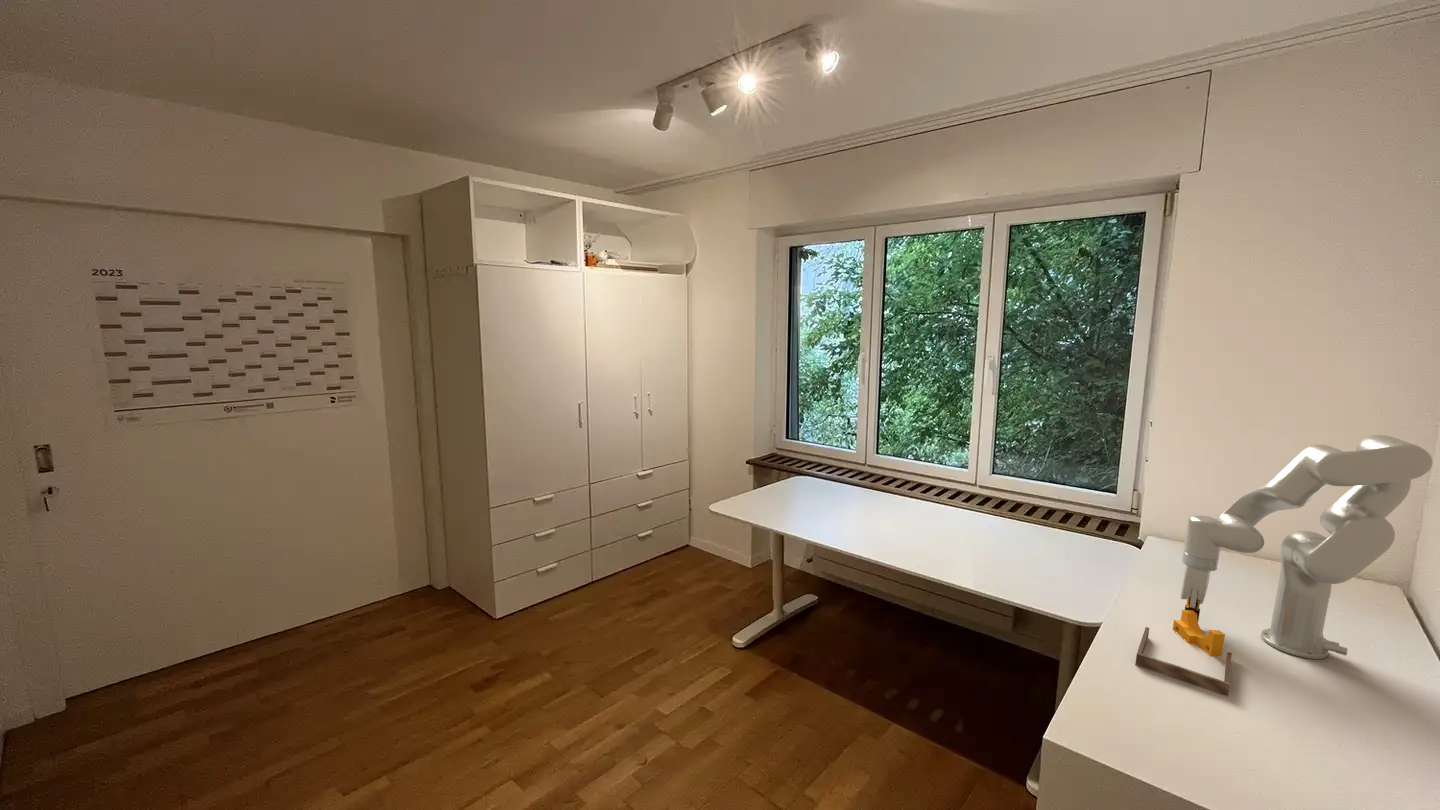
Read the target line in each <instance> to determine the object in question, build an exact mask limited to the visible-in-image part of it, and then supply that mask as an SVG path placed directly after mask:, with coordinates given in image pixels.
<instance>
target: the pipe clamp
mask: <svg viewBox="0 0 1440 810" xmlns="http://www.w3.org/2000/svg"><path fill="white" fill-rule="evenodd" d="M1180 616H1181V617H1180V620H1177V619H1174V620H1173V625H1172V631H1173V630H1174V631H1175V632H1174V631H1173V632H1174V633H1176V632H1177V633H1178V634H1179V635H1180V636H1181V638H1182V639H1183V640H1184V639H1185V640H1186V641H1185V640H1184V641H1185V642H1186V643H1188V644H1194V645H1196V646H1197V647H1199V648H1201V650H1203V651H1204V652H1205V653H1207V655H1208V656H1210V657H1219V658H1222V656H1223V650H1224V649H1223V648H1224V642H1225V639H1226V638H1225V637H1226V634H1225V633H1223V632H1222V631H1221V630H1220V629H1219V630H1218V629H1208V631H1207V634H1205V633H1204V632H1203V631H1202V629H1201V628H1200V625H1199V620H1197V613H1195V612H1194V611H1193V610H1185V609H1182V610H1181V615H1180ZM1177 633H1176V634H1177ZM1178 634H1177V635H1178ZM1179 635H1178V636H1179ZM1180 636H1179V637H1180Z"/></svg>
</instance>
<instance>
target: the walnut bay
mask: <svg viewBox="0 0 1440 810" xmlns="http://www.w3.org/2000/svg"><path fill="white" fill-rule="evenodd" d="M1149 634H1150V627H1149V626H1148V627H1147V626H1145V627H1144V631H1143V634H1142V637H1141V640H1140V643H1139V646H1138V648H1137V653H1136V657H1135V663H1134V664H1135V665H1136V666H1138V667H1141V668H1145V669H1146V670H1150V671H1153V672H1155V673H1159V674H1161V675H1164V676H1167V677H1170V678H1173V679H1175V680H1179V681H1181V682H1184V683H1188V684H1191V685H1194V686H1195V687H1196V686H1197V687H1199V688H1202V689H1204V690H1208V691H1210V692H1213V693H1216V694H1219V695H1223V696H1225V697H1228V696H1229V693H1230V687H1231V686H1230V685H1231V672H1232V669H1231V668H1232V655H1233V653H1232V652H1229V651H1227V654H1226V659H1225V668H1224V679H1223V680H1222V679H1218V678H1215V677H1212V676H1210V675H1206V674H1203V673H1200V672H1197V671H1196V670H1195V671H1194V670H1192V669H1189V668H1185V667H1183V666H1179V665H1176V664H1173V663H1170V662H1168V661H1164V660H1161V659H1157V658H1156V657H1152V656H1150V655H1146V654H1144V651H1145V648H1146V645H1147V643H1148V639H1149Z"/></svg>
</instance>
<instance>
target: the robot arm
mask: <svg viewBox="0 0 1440 810" xmlns="http://www.w3.org/2000/svg"><path fill="white" fill-rule="evenodd" d="M1432 467H1433V459H1432V455H1431V454H1430V452H1428V451H1427V450H1426V449H1425V448H1422V447H1421V446H1419V445H1417V444H1414V443H1411V442H1408V441H1405V440H1403V439H1399V438H1397V437H1393V436H1391V435H1385V434H1374V435H1373V434H1371V435H1369V436H1366V437H1364V438H1362V439H1361V440H1360V441H1359V442H1358V444H1357V445H1356V449H1355V450H1351V451H1343V450H1340V449H1338V448H1335V447H1333V446H1330V445H1325V444H1313V445H1309V446H1307V447H1305V448H1303V450H1301V451H1300V452H1299V453H1298V454H1297V455H1295V456H1294V457H1293V459H1291V460H1290V461H1289V462H1288V463H1287V464H1286V465H1285V466H1284V467H1283V468H1282V469H1280V470H1279V472H1278V473H1276V474H1275V475H1274V476H1273V477H1272V478H1271V479H1270V480H1269V481H1267V482H1266V483H1265V484H1264V485H1262V486H1261V487H1258V488H1256V489H1254V490H1252V491H1250V492H1248V493H1247V494H1245V495H1242V496H1241V497H1239V498H1238V499H1236V500H1235V501H1234V502H1232V503H1231V504H1230V505H1229V506H1228V507H1227V508H1226V509H1225V510H1224V511H1223V512H1222V513H1221V514H1220V515H1219V517H1217V518H1214V517H1212V516H1207V515H1202V514H1201V515H1198V514H1197V515H1192V516H1190V517H1189V518H1188V519H1187V524H1186V525H1187V526H1186V533H1185V540H1184V546H1183V551H1182V552H1183V553H1182V557H1181V562H1182V564H1184V565H1185V569H1184V573H1183V578H1182V579H1183V580H1182V587H1181V593H1180V599H1181V600H1186V604H1185V607H1184V610H1193V611H1194V612H1195V613H1197V620H1198V621H1199V619H1200V613H1201V608H1200V605H1202V604H1204V601H1205V597H1206V594H1207V591H1208V587H1209V583H1210V578H1211V572H1215V571H1217V570H1218V564H1219V560H1220V559H1219V557H1220V552H1221V551H1220V550H1221V548H1222V549H1227V550H1230V551H1233V552H1237V553H1242V554H1253V553H1257V552H1259V551H1260V550H1262V549H1263V548H1264V546H1265V538H1264V536H1263V534H1262V533H1261V532H1260V531H1259V530H1258V529H1256V527H1255V526H1256V525H1257V524H1258V523H1259V522H1260V521H1262V520H1263V519H1264V518H1266V517H1267V516H1269V515H1271V514H1273V513H1275V512H1279V511H1285V510H1295V509H1300V508H1302V507H1304V506H1305V505H1306V504H1307V503H1309V502H1310V501H1311V500H1312V499H1313V497H1315V496H1316V495H1317V494H1318V493H1320V492H1321V491H1322V490H1323V489H1324V488H1325V487H1327V485H1328V486H1333V487H1350V488H1349V489H1347V490H1346V491H1345V492H1344V493H1343V494H1342V495H1341V496H1339V497H1338V498H1337V499H1336V500H1335V501H1333V502H1332V503H1331V504H1330V505H1329V506H1327V507H1326V508H1325V509H1324V511H1322V512H1321V514H1320V516H1319V522H1320V524H1321V526H1322V528H1323V529H1324V530H1325V531H1326V532H1328V534H1329V535H1328V536H1327V537H1326V536H1324V535H1322V534H1321V533H1319V532H1316V531H1312V530H1297V531H1293V532H1291V533H1288V535H1286V536H1285V537H1284V539H1283V540H1282V542H1281V546H1280V573H1279V578H1278V583H1277V590H1276V595H1275V601H1274V607H1273V613H1272V617H1271V622H1270V623H1271V625H1270V628H1266V629H1265V628H1264V629H1263V630H1261V633H1260V637H1261V639H1262V640H1263V641H1264V642H1265V643H1267V644H1268V645H1270V646H1271V647H1273V648H1274V649H1276V650H1279V651H1282V652H1284V653H1287V654H1290V655H1292V656H1296V657H1300V658H1305V659H1310V660H1311V659H1312V660H1313V659H1314V660H1323V659H1326V658H1327V657H1328V654H1329V651H1330V652H1333V653H1336V654H1339V655H1343V656H1347V655H1348V647H1345V646H1340V642H1338V641H1337V642H1336V641H1332V640H1329V639H1328V640H1327V638H1325V637H1324V633H1323V632H1324V628H1325V623H1326V617H1327V613H1328V608H1329V602H1330V598H1331V593H1332V585H1338V584H1343V583H1346V582H1347V581H1350V580H1352V579H1353V578H1355V577H1356V576H1358V575H1359V574H1360V573H1361V572H1362V571H1364V570H1365V569H1366V568H1367V567H1369V566H1370V565H1372V564H1373V563H1374V562H1375V561H1376V560H1378V559H1379V558H1380V557H1381V556H1383V555H1384V553H1386V552H1387V551H1388V550H1390V548H1391V547H1392V545H1393V543H1394V541H1395V538H1396V537H1395V536H1396V532H1395V529H1394V528H1395V527H1393V525H1392V524H1391V523H1390V521H1388V520H1387V517H1388V516H1389V515H1390V514H1392V513H1393V512H1394V510H1396V508H1397V507H1399V505H1401V503H1403V502H1404V501H1405V499H1406V498H1407V496H1408V494H1409V492H1410V489H1411V483H1412V480H1414V479H1419V478H1420V477H1422V476H1424V475H1426V474H1427V473H1429V471H1430V470H1431V468H1432Z"/></svg>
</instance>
